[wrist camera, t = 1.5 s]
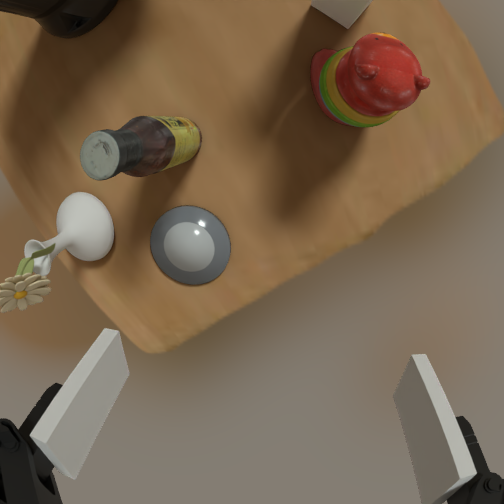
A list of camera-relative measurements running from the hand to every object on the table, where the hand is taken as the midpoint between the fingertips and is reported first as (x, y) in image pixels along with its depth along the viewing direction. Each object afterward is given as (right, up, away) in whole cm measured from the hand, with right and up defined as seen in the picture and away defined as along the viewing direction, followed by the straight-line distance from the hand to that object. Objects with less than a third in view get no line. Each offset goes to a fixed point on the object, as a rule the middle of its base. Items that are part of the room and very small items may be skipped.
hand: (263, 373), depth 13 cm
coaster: (-9, +6, +32) cm, 34 cm away
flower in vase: (-26, +10, +33) cm, 43 cm away
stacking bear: (+12, +26, +22) cm, 36 cm away
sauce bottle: (-10, +20, +27) cm, 35 cm away
